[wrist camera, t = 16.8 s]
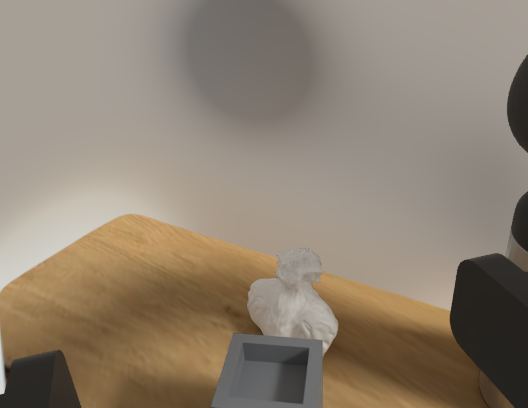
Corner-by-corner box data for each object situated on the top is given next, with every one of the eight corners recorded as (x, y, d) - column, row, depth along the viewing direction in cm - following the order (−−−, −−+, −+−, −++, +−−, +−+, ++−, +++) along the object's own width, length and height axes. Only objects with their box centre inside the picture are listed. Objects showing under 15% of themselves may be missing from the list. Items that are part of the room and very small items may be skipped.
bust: (338, 373, 53) (377, 276, 53) (303, 376, 47) (347, 266, 47) (258, 324, 60) (292, 239, 60) (218, 321, 54) (256, 226, 54)
